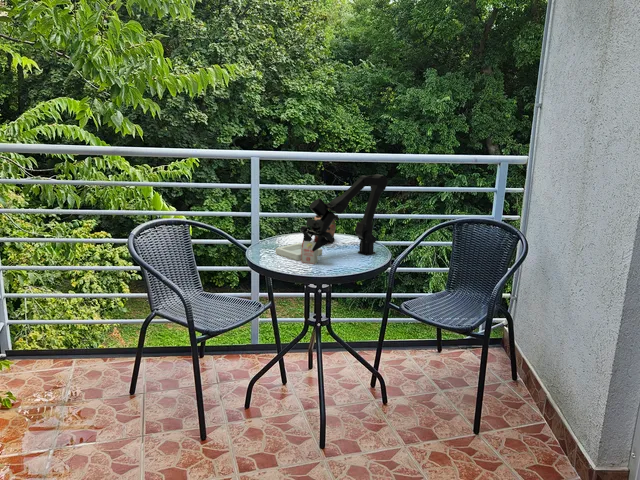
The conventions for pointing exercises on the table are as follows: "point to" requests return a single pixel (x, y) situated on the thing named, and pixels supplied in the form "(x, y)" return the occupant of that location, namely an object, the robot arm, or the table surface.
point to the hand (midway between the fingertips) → (307, 249)
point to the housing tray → (293, 251)
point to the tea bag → (309, 253)
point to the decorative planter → (332, 230)
